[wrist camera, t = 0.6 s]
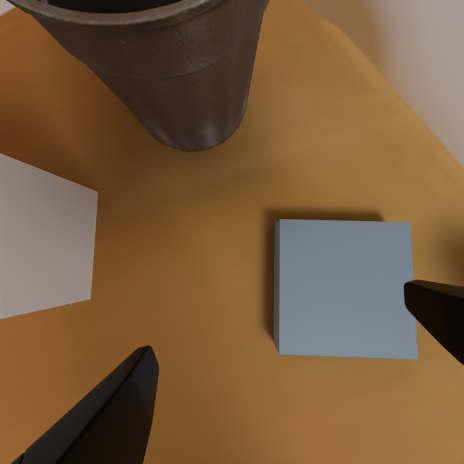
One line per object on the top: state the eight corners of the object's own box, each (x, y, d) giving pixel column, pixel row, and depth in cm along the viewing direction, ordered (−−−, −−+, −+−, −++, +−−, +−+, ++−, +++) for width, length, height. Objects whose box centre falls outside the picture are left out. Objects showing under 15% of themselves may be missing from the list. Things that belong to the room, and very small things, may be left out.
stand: (393, 345, 22) (418, 359, 19) (273, 341, 23) (279, 354, 20) (388, 226, 24) (410, 222, 21) (274, 223, 24) (279, 219, 21)
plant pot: (172, 200, 24) (51, 93, 8) (95, 89, 26) (-129, -178, 10) (292, 118, 25) (389, -122, 9) (210, 15, 27) (173, -342, 11)
